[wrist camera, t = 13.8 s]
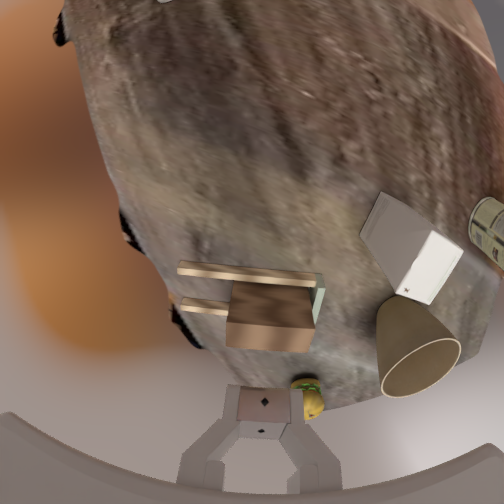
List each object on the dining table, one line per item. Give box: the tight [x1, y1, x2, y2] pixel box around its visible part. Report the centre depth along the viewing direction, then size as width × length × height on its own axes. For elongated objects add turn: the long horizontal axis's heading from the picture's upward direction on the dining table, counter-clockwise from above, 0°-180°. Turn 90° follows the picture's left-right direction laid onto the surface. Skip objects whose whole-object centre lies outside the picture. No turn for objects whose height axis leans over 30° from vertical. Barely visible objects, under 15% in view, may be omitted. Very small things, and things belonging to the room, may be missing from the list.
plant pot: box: [376, 296, 461, 398], centre depth 40 cm, size 15×15×16 cm
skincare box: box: [359, 191, 464, 305], centre depth 31 cm, size 8×7×16 cm
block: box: [226, 280, 315, 353], centre depth 41 cm, size 12×5×11 cm, turn 85°
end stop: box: [309, 274, 326, 324], centre depth 44 cm, size 1×9×4 cm, turn 176°
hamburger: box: [291, 378, 325, 420], centre depth 52 cm, size 8×7×12 cm
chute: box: [177, 261, 316, 316], centre depth 45 cm, size 22×9×2 cm, turn 85°
